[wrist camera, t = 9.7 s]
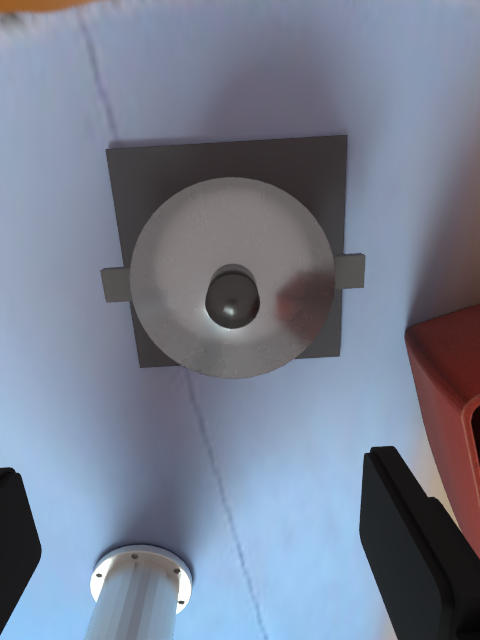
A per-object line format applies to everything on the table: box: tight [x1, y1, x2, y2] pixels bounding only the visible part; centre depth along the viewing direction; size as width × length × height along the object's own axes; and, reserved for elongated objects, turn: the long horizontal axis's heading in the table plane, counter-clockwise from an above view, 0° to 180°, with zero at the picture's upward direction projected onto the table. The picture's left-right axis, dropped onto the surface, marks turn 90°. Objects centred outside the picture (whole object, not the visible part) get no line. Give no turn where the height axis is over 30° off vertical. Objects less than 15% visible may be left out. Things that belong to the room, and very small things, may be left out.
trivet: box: [106, 135, 347, 368], centre depth 34 cm, size 20×20×1 cm
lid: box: [130, 177, 335, 379], centre depth 24 cm, size 14×14×5 cm
